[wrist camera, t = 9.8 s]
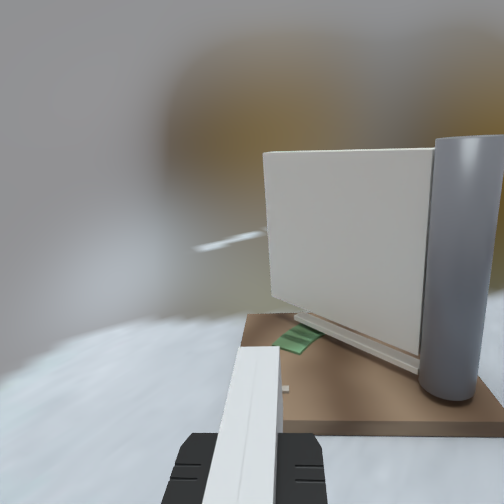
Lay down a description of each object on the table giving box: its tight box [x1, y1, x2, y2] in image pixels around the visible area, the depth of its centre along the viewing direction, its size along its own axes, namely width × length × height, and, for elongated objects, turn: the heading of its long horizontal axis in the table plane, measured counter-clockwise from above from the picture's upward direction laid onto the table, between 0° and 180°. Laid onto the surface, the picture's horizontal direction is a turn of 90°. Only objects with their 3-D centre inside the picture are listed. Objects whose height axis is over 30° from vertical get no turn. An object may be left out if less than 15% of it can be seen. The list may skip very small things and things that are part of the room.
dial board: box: [240, 313, 504, 437], centre depth 27 cm, size 16×13×1 cm
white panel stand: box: [263, 135, 504, 401], centre depth 25 cm, size 16×3×14 cm, turn 40°
